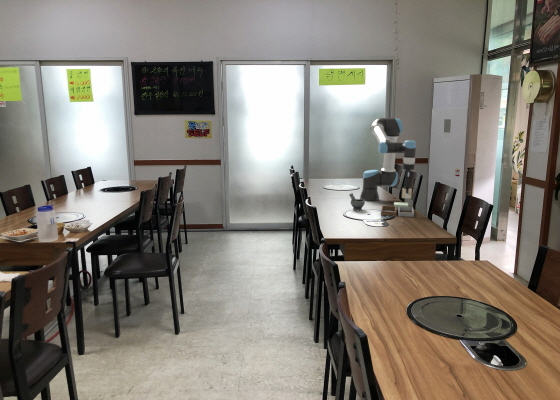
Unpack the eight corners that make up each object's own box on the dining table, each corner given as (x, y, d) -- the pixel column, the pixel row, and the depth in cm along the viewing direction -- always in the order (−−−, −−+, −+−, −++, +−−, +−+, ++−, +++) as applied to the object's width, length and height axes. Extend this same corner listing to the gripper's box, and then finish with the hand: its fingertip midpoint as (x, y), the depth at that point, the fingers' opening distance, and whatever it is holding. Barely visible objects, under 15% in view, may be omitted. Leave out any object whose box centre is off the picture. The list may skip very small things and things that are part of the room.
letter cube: (401, 196, 315) (402, 187, 314) (410, 196, 314) (411, 188, 313) (402, 198, 310) (402, 189, 308) (411, 198, 308) (411, 189, 307)
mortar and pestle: (363, 208, 328) (364, 192, 326) (365, 211, 319) (365, 194, 316) (348, 208, 329) (348, 191, 326) (349, 210, 319) (349, 194, 317)
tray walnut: (381, 209, 327) (381, 205, 326) (395, 209, 324) (396, 206, 324) (380, 214, 308) (381, 211, 307) (396, 215, 305) (396, 212, 305)
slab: (393, 206, 335) (394, 202, 335) (407, 207, 333) (408, 202, 332) (393, 209, 326) (394, 204, 325) (408, 210, 323) (408, 205, 323)
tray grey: (398, 209, 324) (398, 206, 324) (412, 210, 322) (412, 207, 321) (398, 215, 305) (398, 212, 305) (413, 216, 303) (414, 213, 302)
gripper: (402, 161, 317) (400, 194, 322) (403, 165, 299) (401, 199, 303) (414, 162, 315) (411, 194, 320) (415, 165, 297) (412, 200, 302)
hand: (406, 196), depth 312 cm, fingers closed on letter cube, 6 cm apart
